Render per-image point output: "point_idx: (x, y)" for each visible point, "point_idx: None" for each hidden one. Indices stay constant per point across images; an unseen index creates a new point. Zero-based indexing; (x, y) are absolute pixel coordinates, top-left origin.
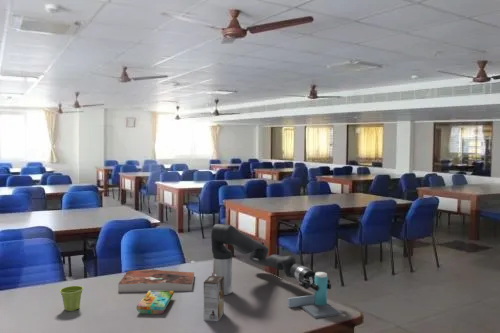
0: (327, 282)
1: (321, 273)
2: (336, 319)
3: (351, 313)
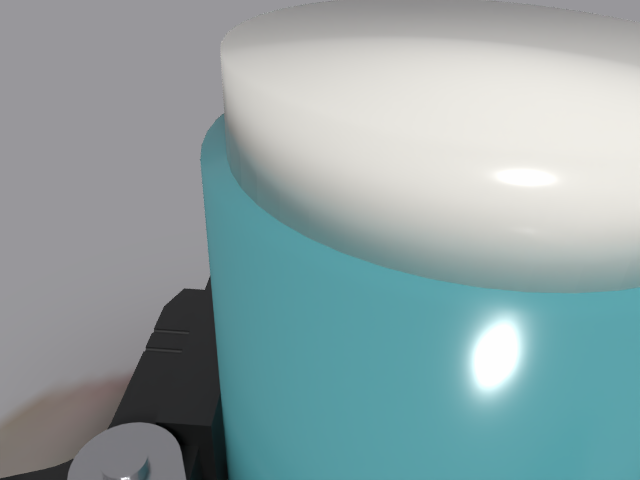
0: (180, 365)
1: (459, 51)
2: None
3: (55, 446)
